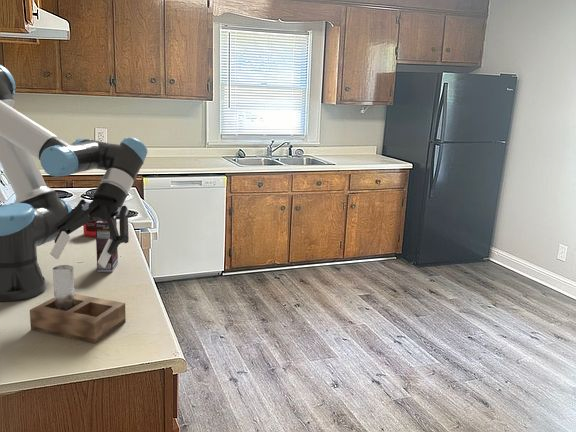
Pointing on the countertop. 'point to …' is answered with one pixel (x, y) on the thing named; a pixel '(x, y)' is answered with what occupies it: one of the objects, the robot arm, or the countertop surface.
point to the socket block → (79, 318)
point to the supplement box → (101, 241)
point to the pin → (64, 287)
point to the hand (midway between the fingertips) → (77, 261)
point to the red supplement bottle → (90, 228)
